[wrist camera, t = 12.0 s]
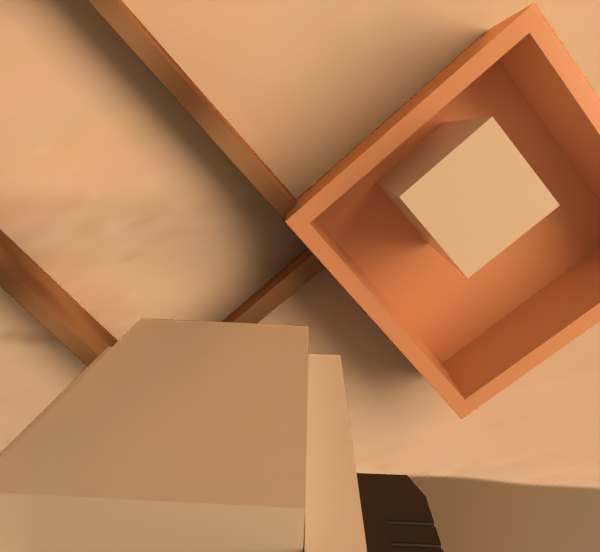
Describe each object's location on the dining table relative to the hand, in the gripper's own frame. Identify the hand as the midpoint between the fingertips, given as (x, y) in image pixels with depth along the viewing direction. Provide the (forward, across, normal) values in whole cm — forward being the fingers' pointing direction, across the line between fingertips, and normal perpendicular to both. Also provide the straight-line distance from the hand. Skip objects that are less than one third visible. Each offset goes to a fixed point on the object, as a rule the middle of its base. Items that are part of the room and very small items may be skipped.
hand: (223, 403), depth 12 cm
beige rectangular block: (0, 0, 0) cm, 0 cm away
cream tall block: (+13, +8, +4) cm, 16 cm away
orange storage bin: (+14, +9, +3) cm, 17 cm away
